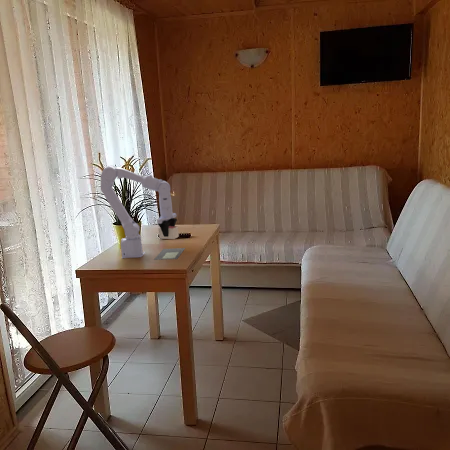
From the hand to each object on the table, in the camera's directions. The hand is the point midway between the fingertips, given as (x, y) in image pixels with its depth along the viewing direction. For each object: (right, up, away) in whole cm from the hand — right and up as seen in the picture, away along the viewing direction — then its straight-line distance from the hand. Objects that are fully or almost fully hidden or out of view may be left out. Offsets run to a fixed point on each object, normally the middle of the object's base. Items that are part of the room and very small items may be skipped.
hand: (168, 235), depth 212 cm
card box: (0, -1, 0) cm, 1 cm away
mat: (+1, -9, -2) cm, 9 cm away
